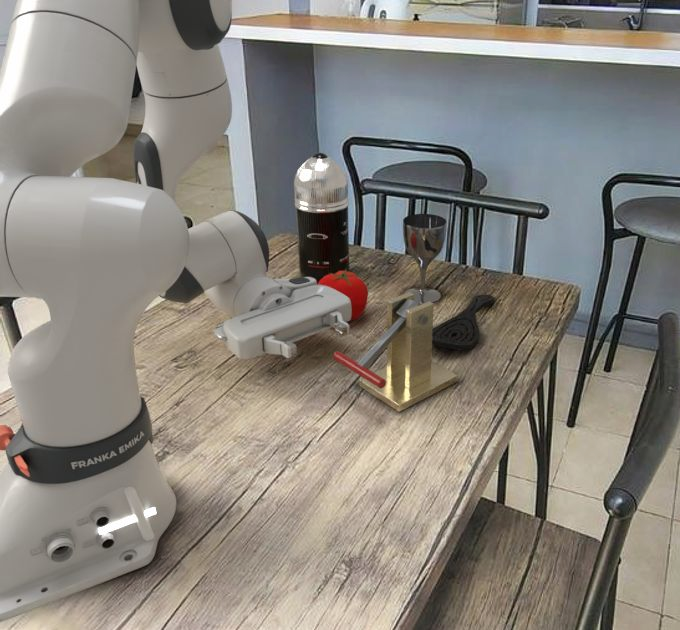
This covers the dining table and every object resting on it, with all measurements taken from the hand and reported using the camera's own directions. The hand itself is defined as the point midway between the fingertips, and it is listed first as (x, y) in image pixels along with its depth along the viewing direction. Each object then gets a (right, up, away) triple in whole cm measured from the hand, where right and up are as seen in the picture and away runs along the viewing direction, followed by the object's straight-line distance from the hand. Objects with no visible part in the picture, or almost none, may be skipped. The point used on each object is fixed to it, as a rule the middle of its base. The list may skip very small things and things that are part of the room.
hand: (320, 341), depth 99 cm
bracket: (+13, -7, +4) cm, 15 cm away
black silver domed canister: (-5, +11, +38) cm, 40 cm away
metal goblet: (+15, +7, +32) cm, 36 cm away
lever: (+10, 0, -2) cm, 10 cm away
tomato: (0, +3, +23) cm, 24 cm away
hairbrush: (+22, +2, +21) cm, 31 cm away
